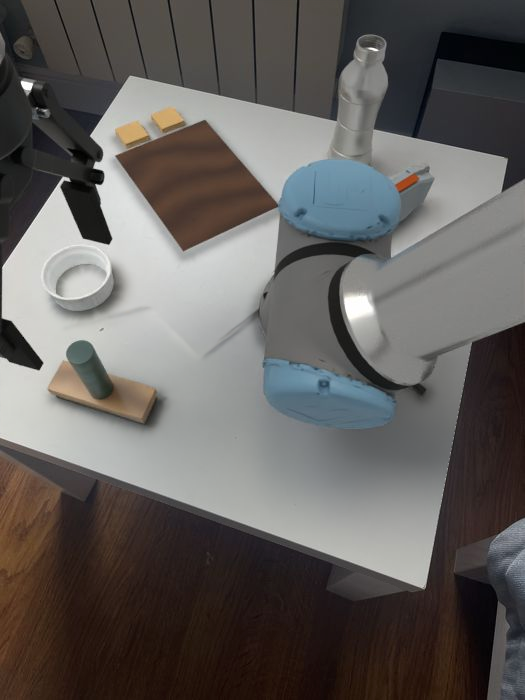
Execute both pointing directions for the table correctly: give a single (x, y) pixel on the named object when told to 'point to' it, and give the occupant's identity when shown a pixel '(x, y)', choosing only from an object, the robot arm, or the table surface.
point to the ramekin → (72, 258)
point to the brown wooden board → (195, 184)
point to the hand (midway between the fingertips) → (64, 296)
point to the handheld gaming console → (412, 187)
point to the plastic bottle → (360, 101)
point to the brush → (100, 385)
